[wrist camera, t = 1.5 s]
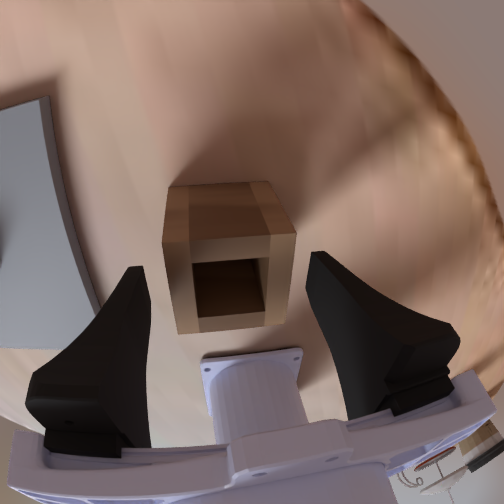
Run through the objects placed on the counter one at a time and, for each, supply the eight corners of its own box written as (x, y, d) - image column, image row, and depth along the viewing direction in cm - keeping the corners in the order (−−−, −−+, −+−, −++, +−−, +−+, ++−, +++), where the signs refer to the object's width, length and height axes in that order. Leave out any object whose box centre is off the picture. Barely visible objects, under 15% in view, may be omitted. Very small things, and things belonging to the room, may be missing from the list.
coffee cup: (491, 390, 52) (518, 439, 40) (467, 414, 59) (490, 460, 47) (459, 407, 51) (487, 462, 38) (435, 430, 57) (458, 481, 45)
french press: (447, 394, 42) (503, 512, 22) (396, 431, 47) (441, 543, 27) (423, 392, 38) (487, 533, 18) (365, 433, 43) (413, 564, 22)
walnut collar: (263, 260, 19) (284, 323, 15) (177, 268, 18) (178, 334, 14) (268, 181, 16) (296, 233, 12) (168, 187, 15) (161, 243, 11)
